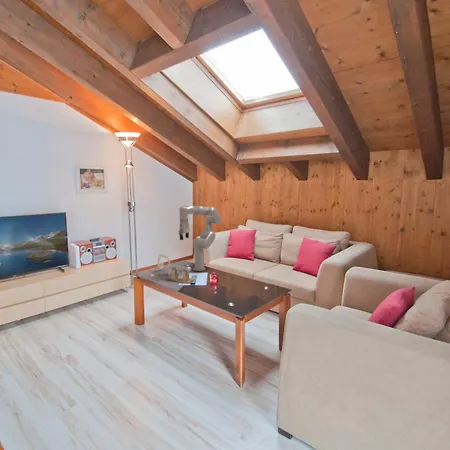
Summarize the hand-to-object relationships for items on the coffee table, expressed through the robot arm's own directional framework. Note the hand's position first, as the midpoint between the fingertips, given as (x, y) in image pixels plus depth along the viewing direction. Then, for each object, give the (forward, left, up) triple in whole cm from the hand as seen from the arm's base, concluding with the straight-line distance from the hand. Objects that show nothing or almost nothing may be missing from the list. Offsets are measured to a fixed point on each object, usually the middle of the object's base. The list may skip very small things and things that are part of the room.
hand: (184, 238), depth 300 cm
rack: (+15, +4, -34) cm, 38 cm away
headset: (+2, -22, -35) cm, 41 cm away
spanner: (+15, +4, -25) cm, 29 cm away
